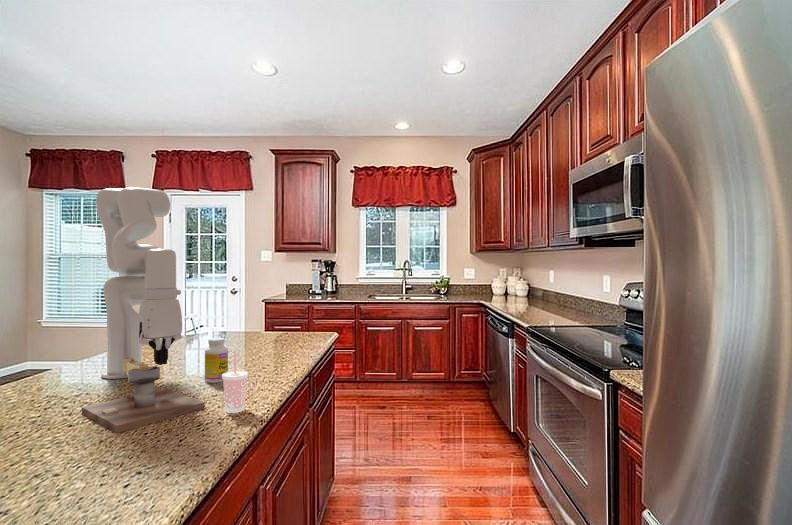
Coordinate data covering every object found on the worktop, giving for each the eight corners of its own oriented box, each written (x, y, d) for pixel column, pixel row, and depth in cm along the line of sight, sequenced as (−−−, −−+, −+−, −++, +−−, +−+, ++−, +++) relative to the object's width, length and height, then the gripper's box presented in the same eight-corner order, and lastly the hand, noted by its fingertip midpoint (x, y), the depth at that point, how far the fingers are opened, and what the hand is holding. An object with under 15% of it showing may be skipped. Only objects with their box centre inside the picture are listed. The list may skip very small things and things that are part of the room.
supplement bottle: (219, 384, 133) (219, 341, 133) (199, 382, 135) (200, 340, 134) (232, 378, 140) (232, 337, 140) (213, 377, 141) (213, 336, 141)
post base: (81, 413, 108) (81, 384, 108) (165, 393, 124) (165, 368, 124) (116, 432, 96) (116, 400, 96) (204, 408, 112) (204, 380, 112)
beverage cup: (232, 415, 107) (232, 357, 106) (216, 411, 110) (216, 354, 110) (253, 408, 112) (253, 352, 112) (237, 404, 115) (237, 350, 115)
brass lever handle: (112, 376, 113) (112, 360, 113) (140, 371, 118) (140, 356, 118) (135, 385, 105) (135, 368, 105) (165, 379, 110) (165, 363, 110)
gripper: (181, 293, 127) (181, 357, 127) (124, 296, 115) (124, 367, 115) (195, 294, 123) (195, 360, 123) (137, 297, 111) (137, 371, 111)
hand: (161, 363), depth 119 cm, fingers closed
